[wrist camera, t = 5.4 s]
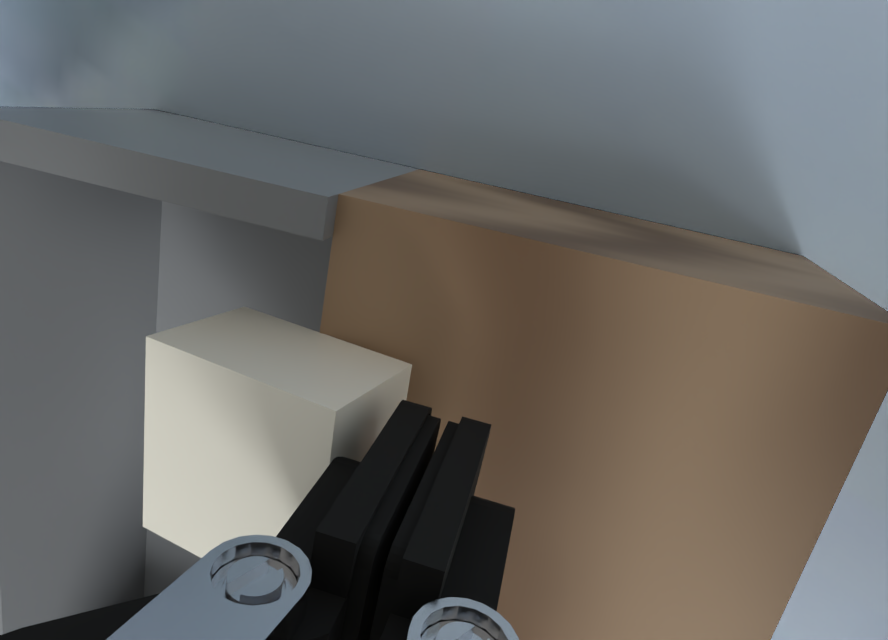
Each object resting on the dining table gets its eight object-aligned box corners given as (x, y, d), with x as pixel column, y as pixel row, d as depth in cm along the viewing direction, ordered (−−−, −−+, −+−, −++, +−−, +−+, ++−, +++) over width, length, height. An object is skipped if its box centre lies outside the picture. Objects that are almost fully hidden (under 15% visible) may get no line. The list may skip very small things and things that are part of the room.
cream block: (412, 364, 12) (336, 411, 10) (383, 540, 13) (310, 617, 11) (244, 306, 14) (146, 336, 11) (233, 471, 15) (142, 526, 13)
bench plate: (803, 255, 16) (916, 329, 11) (605, 761, 22) (610, 980, 16) (419, 169, 18) (338, 194, 12) (331, 666, 24) (249, 838, 18)
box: (419, 169, 18) (328, 196, 11) (331, 666, 24) (240, 857, 17) (153, 109, 19) (-57, 105, 13) (134, 598, 25) (-16, 755, 19)
